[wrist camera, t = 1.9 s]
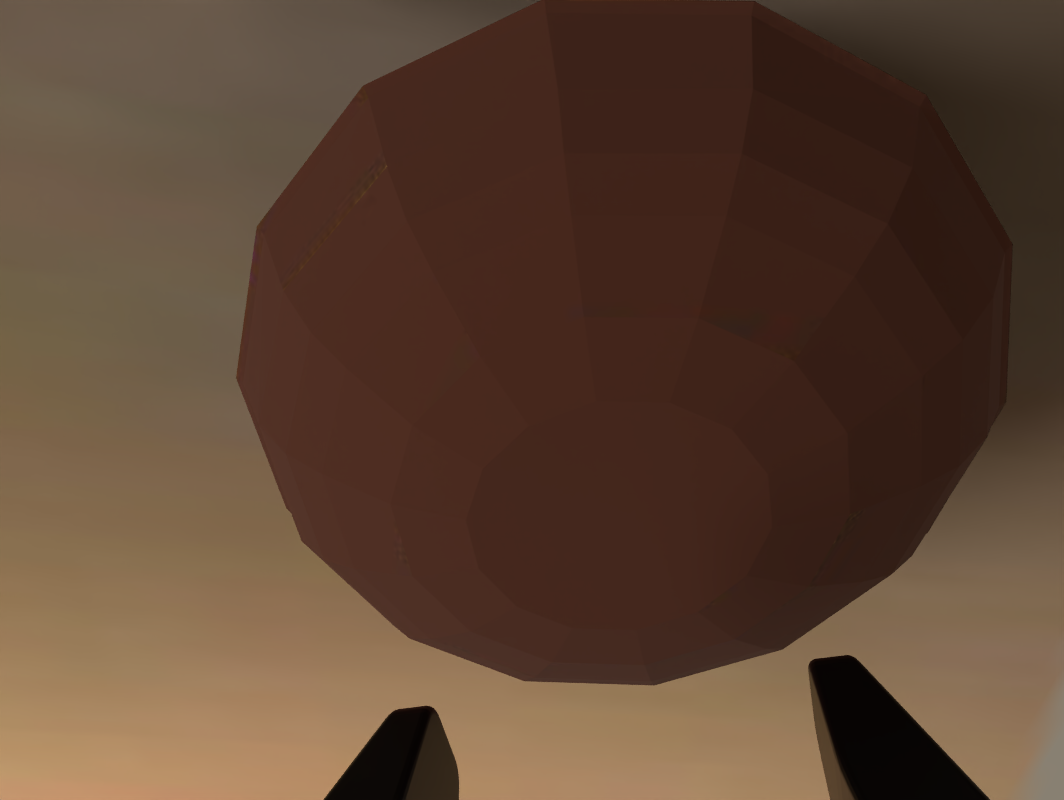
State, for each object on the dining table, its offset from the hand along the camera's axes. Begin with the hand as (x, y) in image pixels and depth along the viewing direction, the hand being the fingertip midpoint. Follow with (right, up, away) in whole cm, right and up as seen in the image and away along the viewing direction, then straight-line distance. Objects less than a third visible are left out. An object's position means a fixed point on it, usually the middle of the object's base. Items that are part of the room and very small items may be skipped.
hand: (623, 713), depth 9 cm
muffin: (+1, +7, +12) cm, 13 cm away
